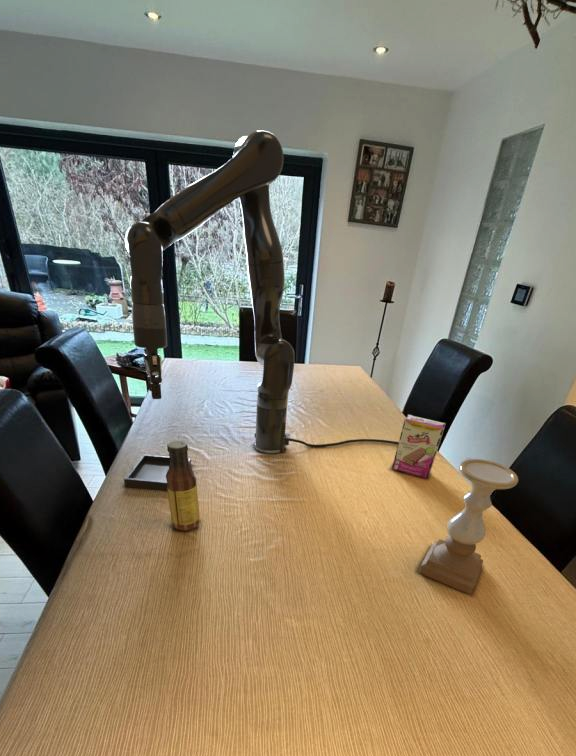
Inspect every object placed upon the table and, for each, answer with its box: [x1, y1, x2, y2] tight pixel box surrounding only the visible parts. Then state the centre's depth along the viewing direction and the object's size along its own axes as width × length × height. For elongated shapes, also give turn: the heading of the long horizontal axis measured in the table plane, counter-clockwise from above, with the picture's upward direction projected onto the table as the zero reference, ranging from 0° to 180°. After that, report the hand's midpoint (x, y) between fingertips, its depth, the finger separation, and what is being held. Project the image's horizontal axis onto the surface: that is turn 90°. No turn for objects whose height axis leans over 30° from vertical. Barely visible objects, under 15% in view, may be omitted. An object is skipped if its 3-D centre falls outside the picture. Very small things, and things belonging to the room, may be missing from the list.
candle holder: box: [418, 458, 519, 595], centre depth 82 cm, size 11×11×24 cm
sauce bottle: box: [166, 439, 200, 532], centre depth 89 cm, size 7×6×20 cm
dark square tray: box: [123, 453, 192, 492], centre depth 112 cm, size 14×15×2 cm
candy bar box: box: [391, 414, 447, 480], centre depth 122 cm, size 11×5×16 cm, turn 65°
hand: (155, 394), depth 105 cm, fingers open, 8 cm apart
